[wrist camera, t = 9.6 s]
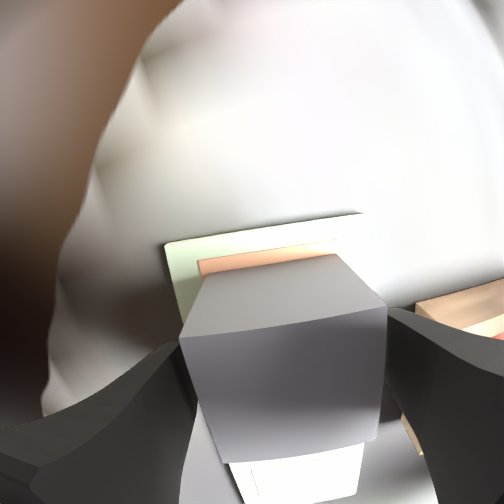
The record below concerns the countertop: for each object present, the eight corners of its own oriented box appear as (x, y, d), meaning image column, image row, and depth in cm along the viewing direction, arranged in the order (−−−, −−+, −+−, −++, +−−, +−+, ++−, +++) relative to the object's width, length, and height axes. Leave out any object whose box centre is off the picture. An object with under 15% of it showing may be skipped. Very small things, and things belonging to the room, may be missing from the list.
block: (336, 253, 12) (387, 305, 7) (342, 360, 13) (376, 439, 8) (207, 273, 12) (178, 338, 7) (231, 377, 13) (222, 463, 8)
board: (363, 213, 12) (369, 215, 11) (354, 488, 17) (356, 495, 16) (168, 242, 12) (163, 246, 12) (248, 503, 17) (247, 510, 16)
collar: (520, 272, 12) (555, 290, 9) (496, 380, 14) (520, 405, 11) (415, 302, 13) (450, 333, 10) (400, 419, 15) (419, 455, 12)
